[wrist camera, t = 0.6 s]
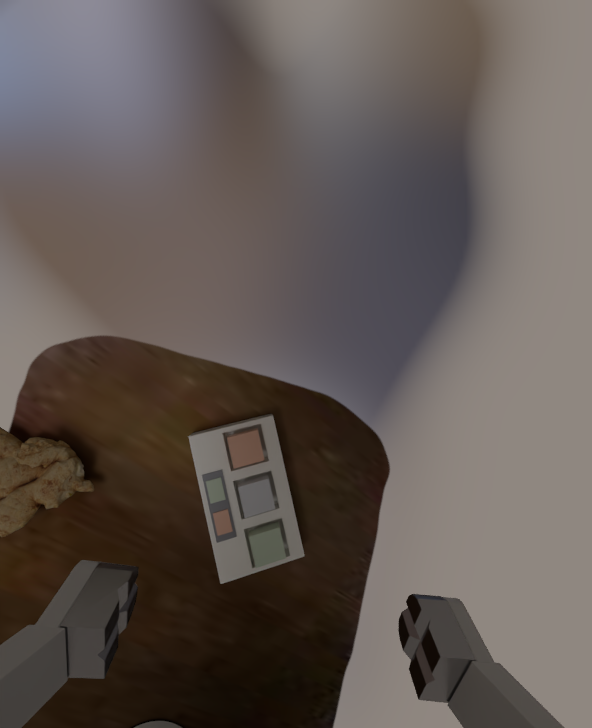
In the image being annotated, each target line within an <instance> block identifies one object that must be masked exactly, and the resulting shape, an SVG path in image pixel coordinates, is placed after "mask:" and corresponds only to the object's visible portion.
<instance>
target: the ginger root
mask: <svg viewBox="0 0 592 728" xmlns="http://www.w3.org/2000/svg"><path fill="white" fill-rule="evenodd" d="M83 467H84V465H82V462H81V460H80V459H79V458H78V456H76V453H75V452H74V451H73V450H72V449H71V448H70V446H69V445H68V444H66V443H65V442H63V441H61V440H60V441H58V442H56V441H54V440H51V439H44V438H40V437H33V438H29V439H28V440H27V441H26V442H25V443H23V442H22V441H20V440H19V439H18V438H16V437H15V436H14V435H12V434H10V433H8V432H7V431H5V430H4V429H2V428H1V427H0V499H1V500H0V536H1V537H5V536H7V535H9V534H11V533H12V532H14V531H16V530H18V529H20V528H21V527H23V526H25V524H27V523H28V522H29V521H30V520H31V518H32V517H33V516H34V515H35V513H36V512H37V510H38V509H39V508H40V506H41V504H44V505H45V508H46V509H49V508H53V507H55V508H56V507H58V506H59V505H60V504H61V503H62V502H63V501H64V500H66V499H67V498H68V497H70V496H71V495H73V494H74V493H75V492H76V491H79V492H87V491H94V486H93V484H92V482H91V481H89V480H84V470H83Z"/></svg>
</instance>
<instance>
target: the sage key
mask: <svg viewBox="0 0 592 728" xmlns="http://www.w3.org/2000/svg"><path fill="white" fill-rule="evenodd" d="M249 539H250V544H251V548H252V553H253V558H254V562H255V567H256V568H258V567H261V566H264V565H267V564H270V563H273V562H276V561H279V560H282V559H285V558H286V554H285V549H284V545H283V540H282V536H281V531H280V527H279V523H278V522H276V523H273V524H270V525H267V526H263V527H260V528H257V529H254V530H250V531H249Z"/></svg>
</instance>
